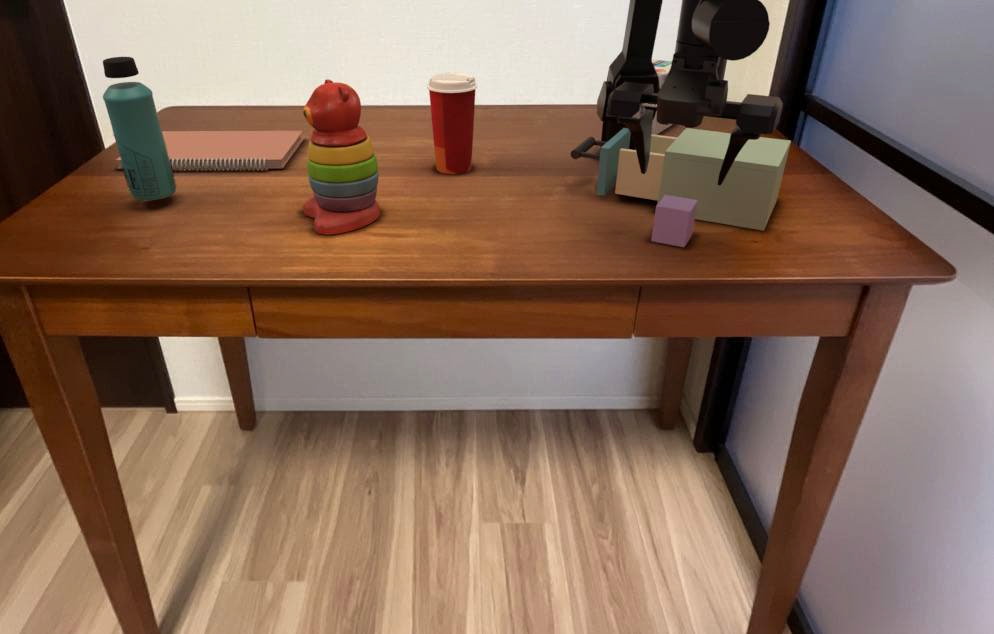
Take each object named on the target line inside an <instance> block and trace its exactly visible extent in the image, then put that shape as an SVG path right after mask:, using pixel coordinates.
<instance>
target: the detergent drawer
mask: <svg viewBox="0 0 994 634" xmlns="http://www.w3.org/2000/svg"><path fill="white" fill-rule="evenodd" d="M630 135H631V133H630V131H629V129H628V128H623V129H622V130H621V131H619V132H618V133H617V134H616V135H615V136H614V137H613V138H611V139H610V140H609V141H608V142H604V141H601V140H597V139H596V138H595V137H594V136H588V137H587V138H586V139H585V140H583V141H582V142H581V143H580V144H579V145H577V146H576V147H575V148H574V149H572V150H571V151H570V158H572V159H573V160H578V159H580V158H586V159H591V160H599V164H598V175H597V185H596V195H598V196H605V195H606V194H607V193H609V192H610V191H611V190H612V189H613V187H614V186H615V190H614V194H616V195H622V196H627V197H633V198H640V199H644V200H645V199H646V200H652V201H657V202H658V197H659V190H660V184H661V177H662V170H663V163H664V156H665V151H666V150H667V149H668V147H669V146H670V145H671V144H672V143H673V142H674V141H675V140H676V139H677V138H678V136H677V137H676V136H668V135H663V134H662V135H661V134H657V135H654V134H651V145H650V156H649V163H648V167H647V172H646V173H645V174H642V173H641V170H640V165H639V161H638V157H637V152H636V148H635V150H630V149H629V144H630ZM594 146H596V147H601V146H602V147H601V151H600V150H599V151H600V154H597V153H593V152H589V150H591V148H593V147H594Z"/></svg>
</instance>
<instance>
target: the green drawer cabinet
mask: <svg viewBox="0 0 994 634" xmlns="http://www.w3.org/2000/svg"><path fill="white" fill-rule="evenodd" d="M731 133H732V132H731ZM731 133H730V132H722V131H716V130H715V131H714V130H705V129H698V128H687V127H685V129H684V130H683V131H682V132H681V133H680V134H679V135H678V136H677V139H676V140H675V141H674V142H673V143H672V144H671V145H670V146H669V147H668V149H667V150H666V151H665V156H664V163H663V170H662V177H661V184H660V190H659V197H658V201H657V204H658V203H659V202H660V201H661V199H662V198H663V197H664V196H665V195H670V196H676V197H682V198H688V199H695V200H698V205H697V210H696V216H695V220H698V221H702V222H703V221H704V222H709V223H710V222H711V223H716V224H721V225H727V226H734V227H739V228H744V229H750V230H756V231H763V232H764V231H765V229H766V227H767V224H768V222H769V220H770V217H771V215H772V213H773V210H774V208H775V206H776V203H777V202H778V197H779V192H780V189H781V185H782V180H783V176H784V174H785V173H784V172H785V167H786V164H787V160H788V156H789V152H790V148H791V143H792V141H791V140H789V139H780V138H770V137H763V136H760V138H759V139H757V140H748V141H747V142H746V144H745V145H744V146H743V148H742V149H741V151H740V152H739V154H738V155H737V157H736V159H735V161H734V163H733V164H732V166H731V168H730V170H729V172H728V174H727V175H726V177H725V179H724V181H723V183H722V184H721V186H720V185H718V178H719V173H720V170H721V167H722V164H723V161H724V157H725V154H726V151H727V148H728V145H729V141H730V136H731Z"/></svg>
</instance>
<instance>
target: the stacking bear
mask: <svg viewBox="0 0 994 634" xmlns="http://www.w3.org/2000/svg"><path fill="white" fill-rule="evenodd" d="M302 113H303V116H304V118H305V121H306V122H307V123H308V125H309V126H311V127H312V128H313V131H312V132H311V134H310V135H309V143H308V149H307V159H306V160H307V162H306V171H307V178H308V182H309V185H310V189H311V190H312V194H313V197H310V198H308V199H306V201H304V202H303V205H302V211H303V214H304V215H305V216H307V217H311V218H313V219H314V221H313V222H314V223H313V229H314V231H316V233H317V234H321V235H337V234H342V233H347V232H351V231H354V230H357V229H360V228H363V227H366V226H367V225H369V224H372V223H373V222H375V221H376V220H378V218H379V217H380V216H381V208H380V206H379V203H378V201H377V200H376V199H377V193H378V184H379V175H380V173H379V163H378V158H377V155H376V153H375V149H374V145H373V142H372V139H371V138H370V136H369V135H368V133H367V132H366V131H365V129H364V128H363V127H361V126H360V124H359V123H360V121H361V115H362V102H361V98H360V96H359V94H358V93H357V91H356V89H354V88H353V87H352V86H351V85H349V84H347V83H344V82H337V81H336V82H334V81H333V80H331V79H328V78H327V79H325V80H324V83H322V84H320V85H318V86H317V87H315V89H314V90H313V92H312V94H311V95H310V97H309V99H308V100H307V101H306V103H305V105H304V107H303V111H302Z"/></svg>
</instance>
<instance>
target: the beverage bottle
mask: <svg viewBox="0 0 994 634" xmlns="http://www.w3.org/2000/svg"><path fill="white" fill-rule="evenodd" d="M102 66H103V73H104V76H105V78H107V79H125V78H130V77H135V76H137V75H139V74H140V73H139V69H138V67H137V63H136V61H135V59H134V58H133V57H132V56H113V57H109V58H105V59H103V60H102ZM102 100H103V101H104V105H105V107H106V111H107V115H108V118H109V122H110V126H111V131H112V134H113V137H114V140H115V143H116V147H117V151H118V155H119V157H118V158H120V157H121V160H120V161H121V162H122V164H123V166H122V168H124V169H122V172H123V175H124V179H125V182H126V185H127V188H128V191H129V193H130V194H131V196H132V197H133V199H135V200H138V201H144V202H145V201H146V202H147V201H156V200H162V199H165V198H169V197H171V196H172V195H174V194H175V193H176V190H177V186H178V185H177V182H176V179H175V174H174V169H171V167H172V165H170V163H171V161H169V159H170V158H169V157H168V152H167V150H168V149H166V144H165V143H166V142H165V141H164V137H163V133H162V131H163V130H162V127H161V122H160V120H159V116H158V112H157V111H158V110H157V108H156V105H155V99H154V96H153V91H152V90H151V88H149V86H147V85H145V84H143V83H142V82H139V81H123V82H117V83H114V84H111V85H109V86H108V87H107V88H106V90H105V91H104V92H103V94H102Z"/></svg>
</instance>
